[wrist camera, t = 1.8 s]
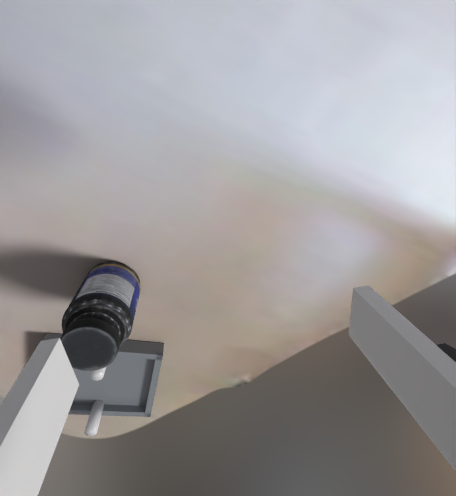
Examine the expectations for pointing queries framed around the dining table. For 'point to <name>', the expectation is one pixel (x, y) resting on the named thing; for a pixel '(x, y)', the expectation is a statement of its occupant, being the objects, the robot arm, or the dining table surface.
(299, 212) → the dining table surface
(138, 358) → the tray
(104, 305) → the pill bottle
